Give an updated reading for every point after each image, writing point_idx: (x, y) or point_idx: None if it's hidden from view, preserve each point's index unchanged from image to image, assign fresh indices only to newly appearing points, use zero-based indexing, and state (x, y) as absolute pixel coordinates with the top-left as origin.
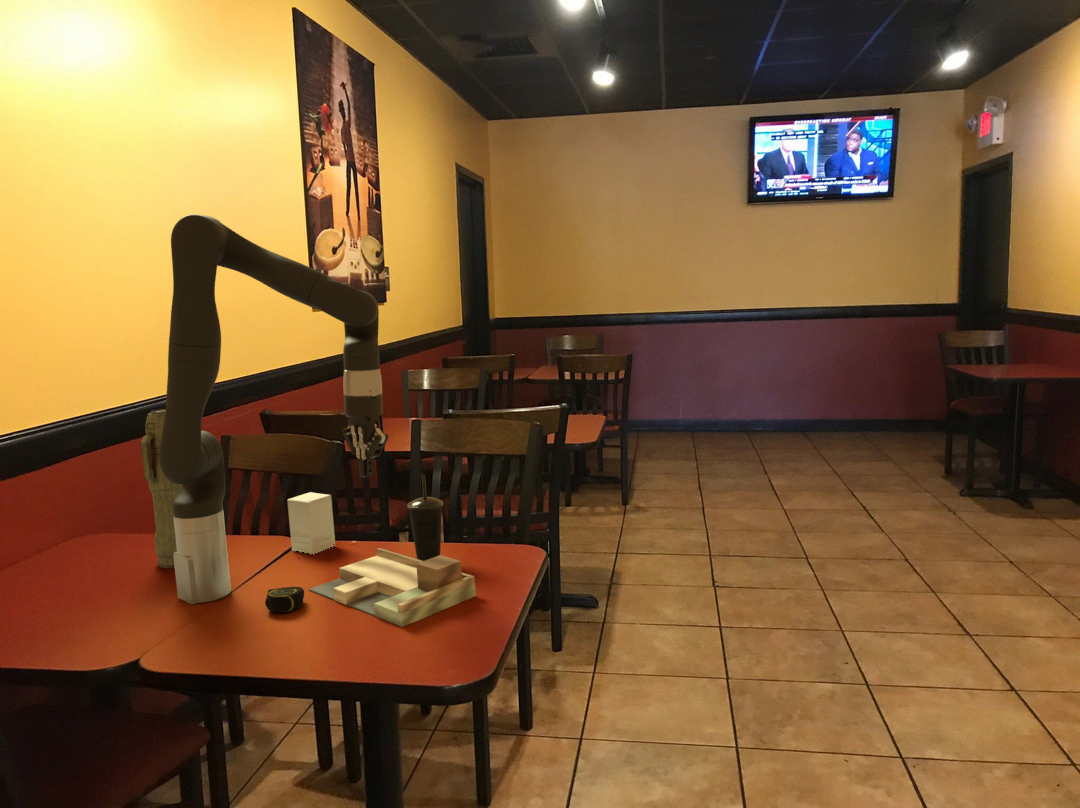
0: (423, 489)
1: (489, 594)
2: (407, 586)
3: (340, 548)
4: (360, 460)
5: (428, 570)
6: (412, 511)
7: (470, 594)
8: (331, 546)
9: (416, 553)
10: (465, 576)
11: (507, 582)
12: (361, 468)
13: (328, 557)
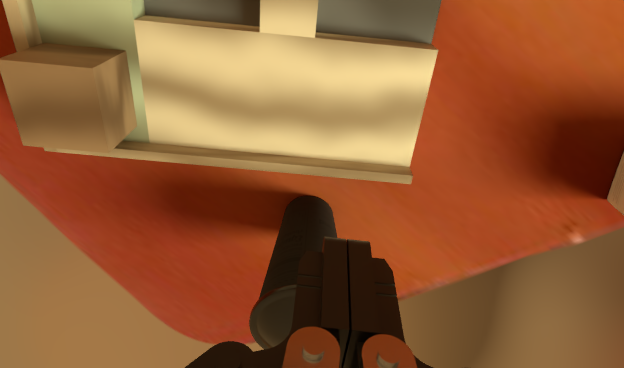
0: None
1: (60, 152)
2: (160, 47)
3: (582, 195)
4: (358, 323)
5: (42, 60)
6: None
7: None
8: (611, 190)
9: (321, 213)
10: None
11: (92, 213)
12: (350, 276)
13: (574, 140)
